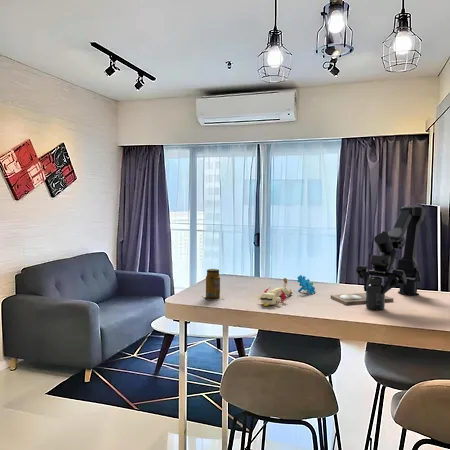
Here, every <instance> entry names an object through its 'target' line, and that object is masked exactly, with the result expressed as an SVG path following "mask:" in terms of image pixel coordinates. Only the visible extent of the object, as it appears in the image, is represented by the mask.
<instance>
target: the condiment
mask: <svg viewBox="0 0 450 450" xmlns="http://www.w3.org/2000/svg"><path fill="white" fill-rule="evenodd" d="M220 276H221V275H220V270H219V269H217V268H208V269H207V270H206V276H205V295H202V297H203V299H205V300H207V301H220V300H221V301H222V300H225V298H224V297H222V296H221V277H220Z"/></svg>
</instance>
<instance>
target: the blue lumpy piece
mask: <svg viewBox="0 0 450 450" xmlns="http://www.w3.org/2000/svg"><path fill="white" fill-rule="evenodd" d="M306 278H307V277H306V276H305V275H303V274H302V275H301V274H299V276H297V278H296V279H297V283H299V284H298V286H299V287H300V288H299V289H298V290H297V291H298V293H300V292H301V291H306V293H307V294H310V295H313V294H314V293H315V292H316V288H315V286H314V282H313V281H311V280H310V278H307V279H306ZM310 281H311V282H310Z"/></svg>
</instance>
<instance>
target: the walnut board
mask: <svg viewBox="0 0 450 450" xmlns="http://www.w3.org/2000/svg"><path fill="white" fill-rule="evenodd" d="M330 299H331V300H334V301H336V302H338V303H340V304H342V305H345V306H348V305H362V304H363V305H364V304H365V305H366V292H359V293H346V294H345V293H343V294H342V293H341V294H331V295H330ZM389 302H390V303H392V302H394V298H392V297H391V296H388V295H385V303H389Z"/></svg>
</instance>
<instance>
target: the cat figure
mask: <svg viewBox="0 0 450 450" xmlns="http://www.w3.org/2000/svg"><path fill="white" fill-rule="evenodd" d="M287 279H288V278H286V277H283V285H282V287H276V288H274V289H272V290H270V291H269V289H270V287H269V288H266V289H265V290H264V291H263V293H261V295H260V296H257V297H258V298H257V299H258V300H259V301H260V302H261V304H262V305H263V306H267V307H268V306H270V305H272V306H273V305H278V303H283V302H285V300H286V299H287V296H292V295H293V291H292V289H290V288H288V289H287V286H288V285H287V284H288V280H287ZM268 291H269V292H268Z"/></svg>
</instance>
